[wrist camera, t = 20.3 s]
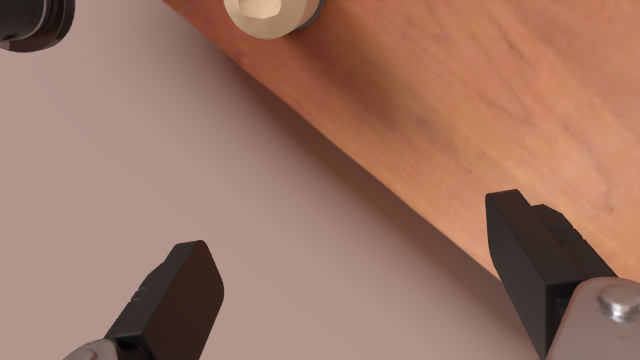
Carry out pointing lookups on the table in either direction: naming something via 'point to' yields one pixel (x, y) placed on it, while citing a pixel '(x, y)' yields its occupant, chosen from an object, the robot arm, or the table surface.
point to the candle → (270, 15)
